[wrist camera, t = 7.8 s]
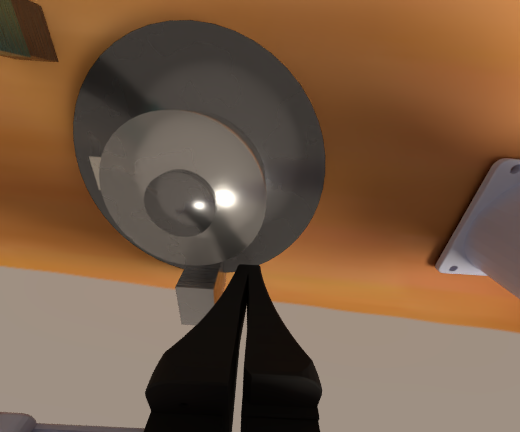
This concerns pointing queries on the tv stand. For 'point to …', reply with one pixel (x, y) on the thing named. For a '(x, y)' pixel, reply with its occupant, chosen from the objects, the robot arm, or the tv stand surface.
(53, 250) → the tv stand surface
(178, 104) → the turntable
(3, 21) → the stacked blocks
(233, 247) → the cover
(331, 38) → the tv stand surface
